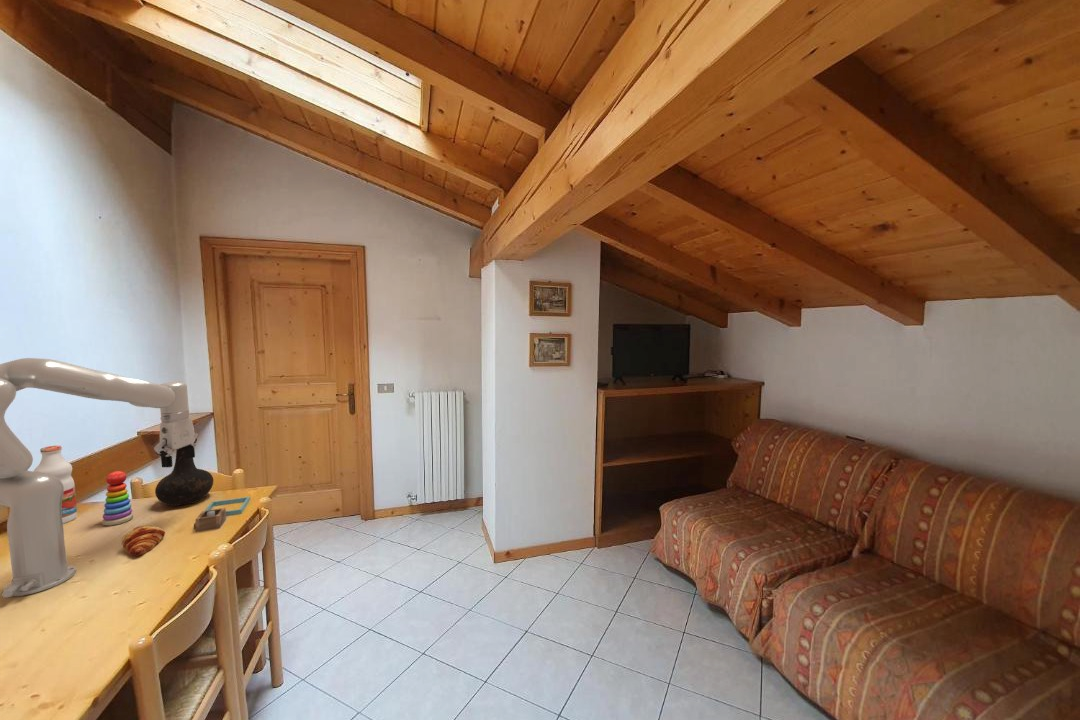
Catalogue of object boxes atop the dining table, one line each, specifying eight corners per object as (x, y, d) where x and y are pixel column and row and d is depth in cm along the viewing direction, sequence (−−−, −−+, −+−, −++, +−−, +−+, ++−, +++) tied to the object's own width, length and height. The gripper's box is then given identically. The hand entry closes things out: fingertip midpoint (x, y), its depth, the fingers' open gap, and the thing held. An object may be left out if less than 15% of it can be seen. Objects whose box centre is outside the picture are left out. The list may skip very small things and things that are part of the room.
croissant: (137, 544, 139) (120, 528, 136) (170, 523, 144) (155, 507, 141) (128, 572, 122) (108, 555, 120) (166, 547, 128) (148, 530, 125)
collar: (220, 527, 142) (219, 515, 142) (191, 532, 139) (190, 520, 139) (226, 519, 149) (225, 507, 148) (198, 523, 145) (197, 511, 145)
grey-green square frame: (241, 515, 153) (241, 509, 153) (200, 521, 148) (200, 515, 148) (250, 501, 165) (250, 496, 164) (212, 506, 160) (212, 501, 159)
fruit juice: (43, 519, 148) (36, 446, 145) (81, 512, 153) (74, 442, 151) (32, 530, 140) (24, 453, 138) (72, 522, 146) (65, 448, 143)
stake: (220, 529, 142) (219, 514, 142) (195, 533, 140) (194, 518, 139) (228, 518, 151) (227, 504, 150) (205, 521, 148) (204, 507, 147)
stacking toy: (117, 526, 143) (112, 476, 142) (95, 526, 144) (91, 476, 142) (139, 516, 151) (135, 468, 150) (119, 515, 151) (115, 468, 150)
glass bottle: (149, 514, 153) (143, 443, 150) (165, 496, 168) (160, 432, 166) (208, 505, 161) (204, 437, 159) (218, 488, 177) (214, 427, 174)
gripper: (164, 422, 136) (168, 470, 137) (205, 411, 153) (208, 454, 155) (141, 422, 135) (146, 471, 137) (184, 411, 153) (188, 454, 154)
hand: (179, 462), depth 146 cm, fingers open, 9 cm apart
